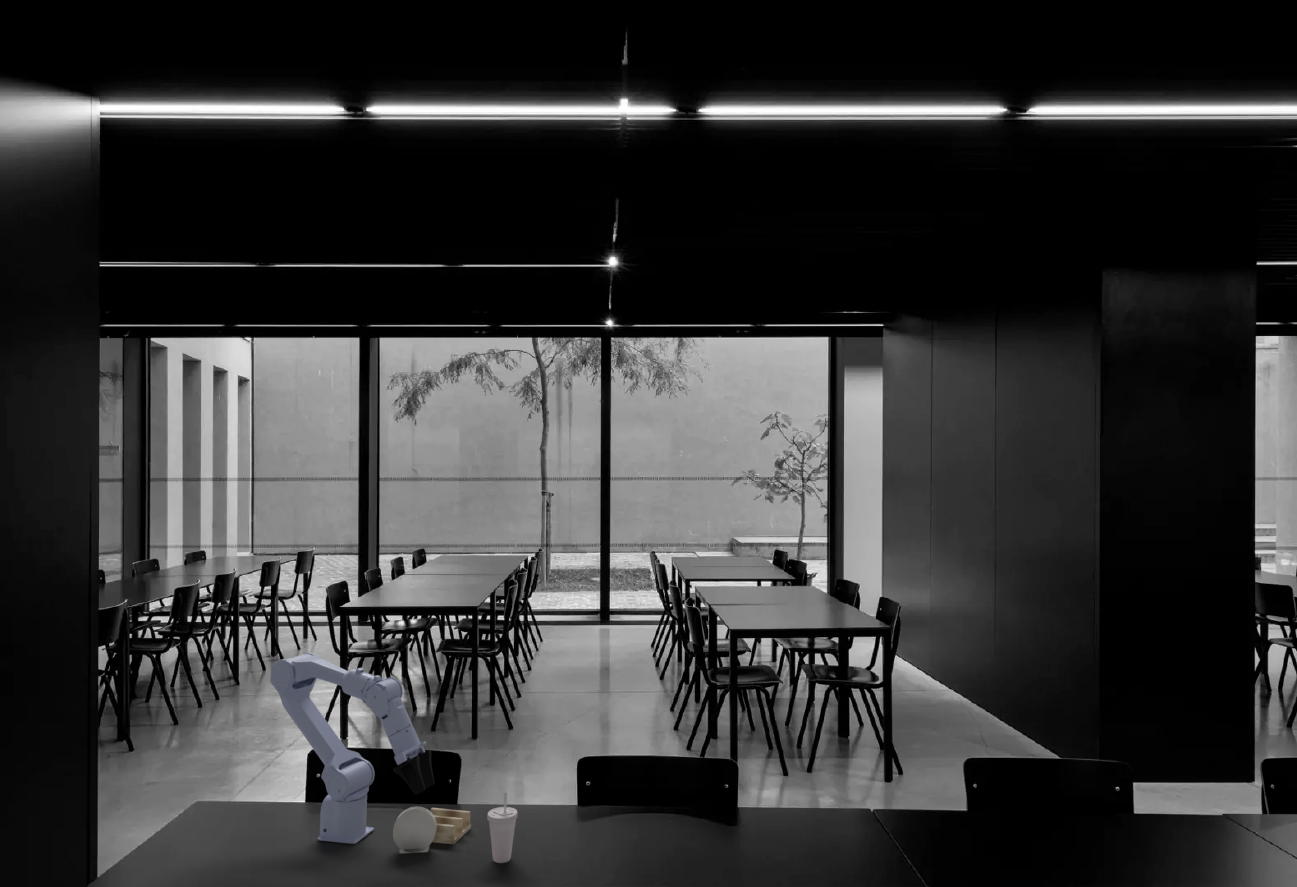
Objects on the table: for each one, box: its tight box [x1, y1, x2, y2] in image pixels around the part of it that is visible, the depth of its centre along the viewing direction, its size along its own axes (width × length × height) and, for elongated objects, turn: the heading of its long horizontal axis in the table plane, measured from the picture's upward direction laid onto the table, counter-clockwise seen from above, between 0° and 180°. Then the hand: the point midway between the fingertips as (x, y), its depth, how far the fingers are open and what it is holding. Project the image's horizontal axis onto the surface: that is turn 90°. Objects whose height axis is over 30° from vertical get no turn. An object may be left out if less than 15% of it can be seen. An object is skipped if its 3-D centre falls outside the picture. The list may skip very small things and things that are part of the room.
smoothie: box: [486, 790, 518, 864], centre depth 172 cm, size 6×6×14 cm
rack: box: [430, 807, 472, 845], centre depth 184 cm, size 10×9×4 cm
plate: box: [392, 806, 437, 854], centre depth 176 cm, size 9×2×9 cm, turn 98°
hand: (425, 789), depth 177 cm, fingers open, 7 cm apart
